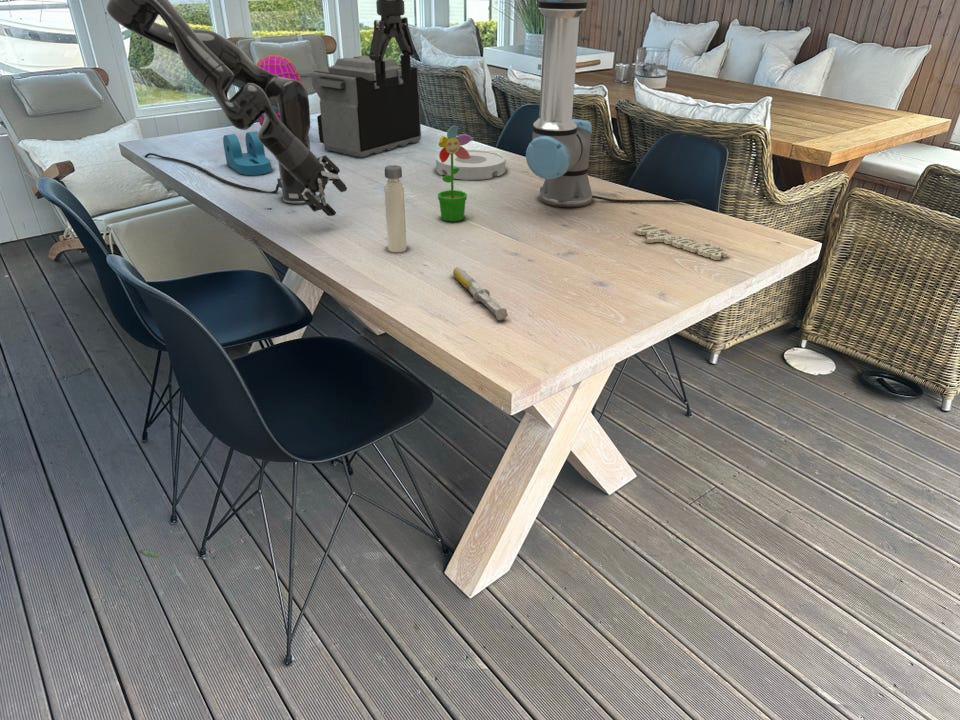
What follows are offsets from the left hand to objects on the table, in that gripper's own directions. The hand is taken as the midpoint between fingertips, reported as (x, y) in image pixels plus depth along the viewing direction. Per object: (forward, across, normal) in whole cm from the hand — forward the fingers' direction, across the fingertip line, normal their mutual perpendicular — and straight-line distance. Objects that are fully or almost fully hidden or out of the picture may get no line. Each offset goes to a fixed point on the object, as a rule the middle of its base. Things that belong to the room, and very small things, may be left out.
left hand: (339, 202), depth 181 cm
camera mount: (+1, -32, -58) cm, 66 cm away
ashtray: (+40, -50, +2) cm, 64 cm away
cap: (-8, +4, +27) cm, 28 cm away
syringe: (+9, +32, +48) cm, 58 cm away
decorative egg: (+15, -67, -76) cm, 102 cm away
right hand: (-3, -42, +5) cm, 42 cm away
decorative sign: (+46, -7, +75) cm, 88 cm away
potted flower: (+22, -9, +20) cm, 31 cm away
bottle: (+8, +14, +20) cm, 25 cm away
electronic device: (+31, -69, -44) cm, 87 cm away
